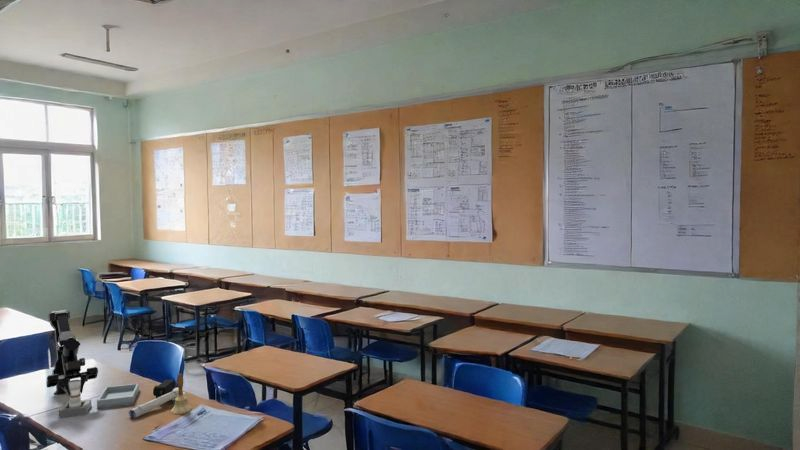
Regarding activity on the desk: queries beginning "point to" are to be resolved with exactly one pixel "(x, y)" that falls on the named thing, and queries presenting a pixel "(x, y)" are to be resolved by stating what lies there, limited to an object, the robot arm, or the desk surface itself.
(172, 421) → the desk surface
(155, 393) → the digital camera
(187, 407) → the hand bell
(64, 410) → the socket block
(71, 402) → the light bulb
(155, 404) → the white long bar
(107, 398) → the tray
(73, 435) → the desk surface
